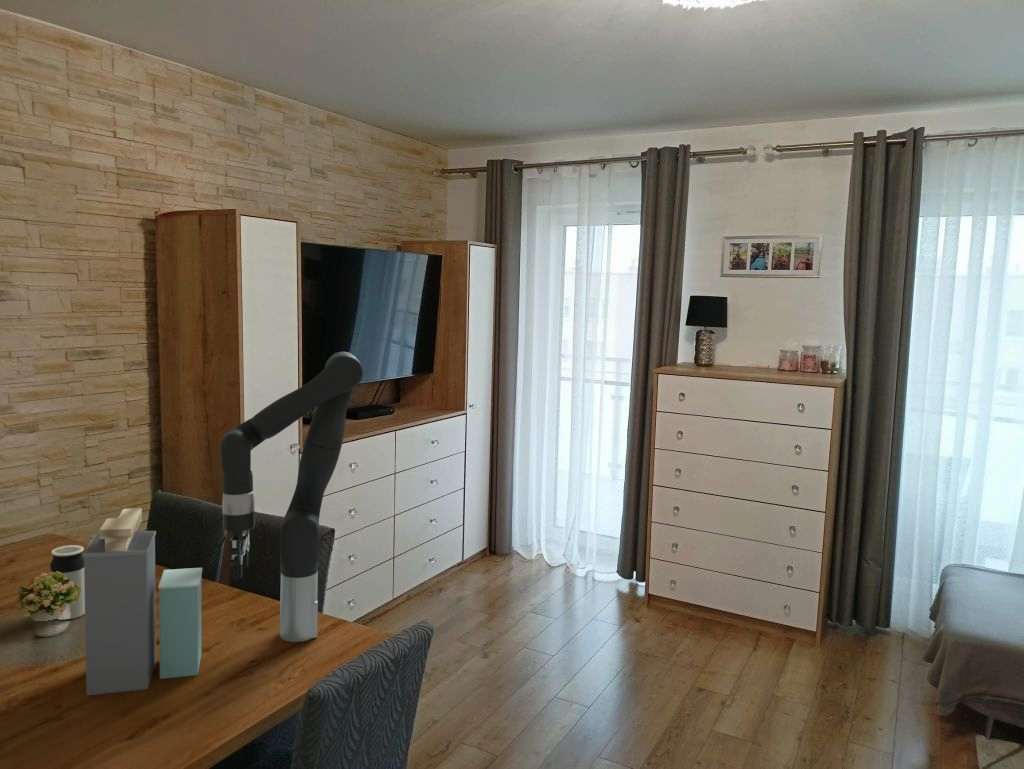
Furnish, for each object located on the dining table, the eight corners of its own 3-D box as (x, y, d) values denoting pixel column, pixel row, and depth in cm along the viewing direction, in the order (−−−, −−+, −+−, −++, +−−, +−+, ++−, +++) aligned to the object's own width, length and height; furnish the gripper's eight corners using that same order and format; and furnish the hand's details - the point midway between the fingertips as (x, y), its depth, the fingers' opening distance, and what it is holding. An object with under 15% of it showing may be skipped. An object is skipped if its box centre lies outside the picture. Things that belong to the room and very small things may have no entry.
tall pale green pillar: (202, 654, 182) (202, 567, 180) (198, 675, 172) (198, 584, 170) (164, 657, 180) (164, 569, 177) (158, 679, 170) (158, 586, 167)
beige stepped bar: (146, 519, 181) (146, 500, 181) (131, 551, 161) (130, 528, 160) (119, 521, 180) (118, 500, 179) (99, 552, 159) (99, 530, 158)
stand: (156, 660, 178) (155, 530, 174) (148, 689, 166) (147, 550, 162) (98, 665, 174) (96, 533, 170) (85, 696, 162) (82, 553, 158)
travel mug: (85, 618, 197) (83, 553, 195) (49, 623, 194) (48, 556, 192) (87, 606, 205) (86, 543, 202) (53, 610, 201) (51, 546, 199)
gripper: (249, 516, 179) (251, 582, 180) (259, 502, 193) (260, 563, 194) (216, 518, 178) (218, 584, 179) (228, 503, 192) (230, 564, 193)
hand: (240, 573), depth 187 cm, fingers open, 8 cm apart
